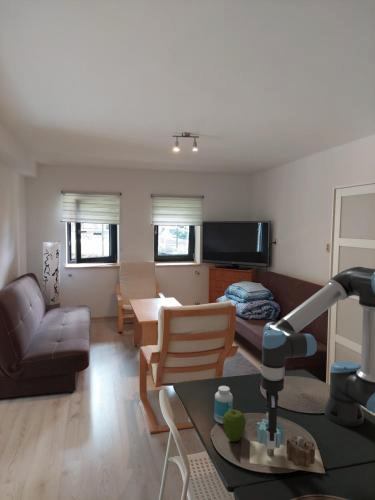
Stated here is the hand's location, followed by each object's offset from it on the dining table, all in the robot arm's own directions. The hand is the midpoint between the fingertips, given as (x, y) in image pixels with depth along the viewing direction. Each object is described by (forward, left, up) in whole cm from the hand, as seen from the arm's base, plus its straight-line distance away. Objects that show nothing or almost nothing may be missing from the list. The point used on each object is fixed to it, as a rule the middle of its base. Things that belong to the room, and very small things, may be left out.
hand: (270, 439), depth 119 cm
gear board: (-5, 0, -7) cm, 9 cm away
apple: (+13, -8, -7) cm, 17 cm away
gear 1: (0, 0, 0) cm, 0 cm away
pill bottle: (+18, -21, -7) cm, 28 cm away
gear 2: (-10, 0, -5) cm, 11 cm away
